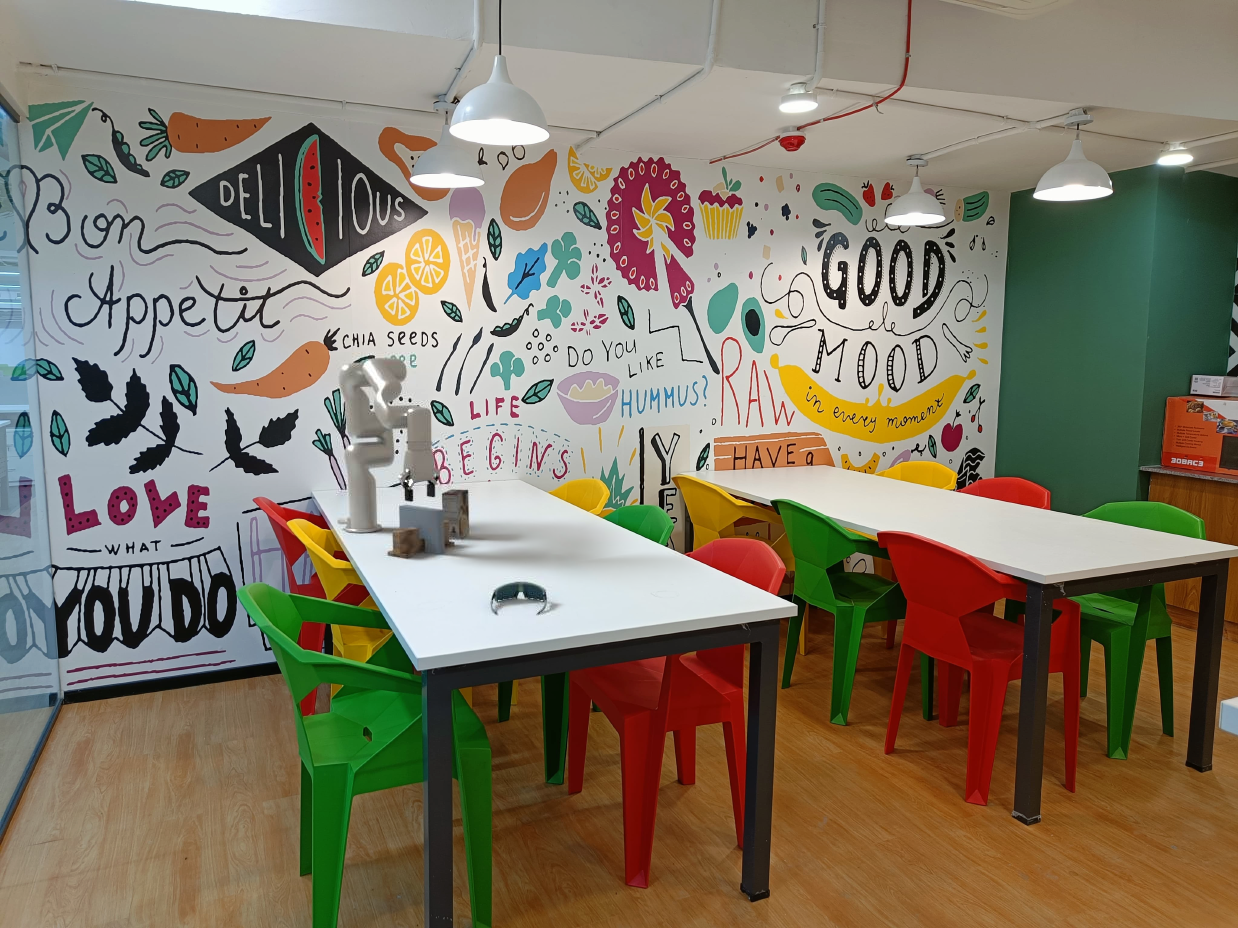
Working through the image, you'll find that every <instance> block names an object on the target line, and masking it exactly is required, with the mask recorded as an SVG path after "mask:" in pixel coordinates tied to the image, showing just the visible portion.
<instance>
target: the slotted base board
mask: <svg viewBox="0 0 1238 928" xmlns="http://www.w3.org/2000/svg"><path fill="white" fill-rule="evenodd" d="M444 535H445V548H451V547H455V545H456V543H455V541H452V540H451V541H450V539H449V521H444ZM422 552H425V539H420V538H419V528H415V527H410V528H405V529H401V530H400V529H397V530H393V531H392V550H388V551H387V556H389V557H390V556H391V557H395V558H400V559H404V560H407V559H410V558H413V555H415V554H419V553H422Z"/></svg>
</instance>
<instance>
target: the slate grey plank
mask: <svg viewBox="0 0 1238 928" xmlns="http://www.w3.org/2000/svg"><path fill="white" fill-rule="evenodd" d="M398 511H399V512H398V513H399V514H398V515H399V530H401V529H405V528H410V527H415V528H419V538H420V539H425V551H424V553H425V554H426V553H428V554H433V555H437V556H438V555H442V554H445V553H446V552H445V551H446V550H445V549H446V547H445V535H444V510H442V508H441V509H439V508H432V507H427V506H418V505H413V504H412V505H410V504H403V505H399V507H398Z"/></svg>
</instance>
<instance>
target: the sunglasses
mask: <svg viewBox="0 0 1238 928" xmlns="http://www.w3.org/2000/svg"><path fill="white" fill-rule="evenodd" d="M520 593H522V595H523V597H524V599H527V598H533V599H532V600H535V599H539V600H538V601H540V600H543V601H544V602H543V603H544V605H543V606H542V608H540V610H539V611H538V612H537V613H536V615H537V614H538V613H540V612H541V613H542V612H544V610H545V609H546V606H547V604H548V603H547V601H548V597H547V590H546V589H545V588H544V587H542V586H541V585H539V584H536V583H533V582H530V581H529V582H528V581H513V582H509V583H504V584H503V585H501V586H498V587H496V588H495V589H494V590H493V593H492V595H491V600H490V602H489V603H490V604H489V605H490V608H491V611H492V613H493V614H494V615H496V614H497V615H498V612H497V611H496V610H495V609H494V607H493V604H494V601H495V602H496V601H498V600H502V601H504V600H503V599H507V600H510V599H509V598H515V599H518V597H519V594H520ZM541 613H540V614H541ZM538 615H539V614H538Z"/></svg>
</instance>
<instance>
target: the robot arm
mask: <svg viewBox="0 0 1238 928" xmlns="http://www.w3.org/2000/svg"><path fill="white" fill-rule="evenodd" d="M407 370H408V369H407V366H406V364H405V363H404V362H403V360H402V359H399V358H397V357H375V358H374V357H373V358H370V359H368V360H366V361H365V362H350V363H347V364H344V365H343V366H342V367H341V368H340V370H339V374H338V383H339V387H340V390H341V393H342V396H343V399H344V409H345V411H344V412H345V421H346V431H347V434H348V436H349V438H352V439H357V440H358V439H361V440H362V439H374V438H375V439H376V441H364V442H363V441H362V442H354V443H351V444H349V445H348V446H346V447H345V450H344V461H345V466H346V471H347V481H348V483H347V484H348V485H347V486H348V487H347V488H348V510H349V511H348V512H349V514H348V516H349V517H346V518H337V524H338V525H346V526H345V527H344V529H345V531H346V532H348V533H358V534H359V533H361V534H362V533H363V534H364V533H372V532H373V533H374V532H377V531H380V530H382V528H383V527H382V524H380V523H378V509H377V508H378V507H377V506H378V505H377V482H376V479H375V476H374V475H373V474H372V473H371V471H370V469H378V468H379V469H380V468H388V467H390V466H392V464H393V463H394V461H395V444H394V443H395V442H394V431H393V430H403V429H406V430H407V431H406V433H407V436H406V437H407V447H406V448H407V450H406V451H404V452H405V453H404V458H403V472H402V473H400V475H398V480H399V483H400V485H401V486H402V489H403V490H404V501H405V502H410V503H411V502H413V501H414V489H413V486H414V485H415V483H416V484H417V483H423V482H426V496H427V498H428V497H429V498H436V485H437V482H438V480H439V479H440V474H441V470H440V469H438V468H436V466H435V465H436V464H435V457H434V452H433V448H432V446H433V441H432V411H431V409H429V408H428V407H423V406H420V405H417V404H416V405H415V404H412V405H411V404H410V405H407V404H406V405H389V403H391V402H392V401H395V400H396V399H398V398H399V396H400V395H401V394H402V391H403V387H402V386H403V385H402V384H401V383H402V382H404V381H405V379H406V378H407V374H408V373H407V372H408V371H407ZM363 388H372V389H373V390H374V392H375V396H374V400H373V410H374V411H371V403H370V398H369V395H368V394H367V393H366V391H365V390H364V389H363Z"/></svg>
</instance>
